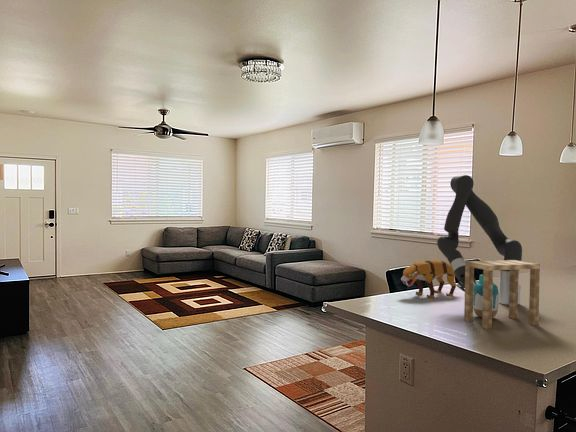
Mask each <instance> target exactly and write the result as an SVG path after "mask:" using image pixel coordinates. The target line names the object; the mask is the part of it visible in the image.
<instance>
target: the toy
mask: <svg viewBox="0 0 576 432" xmlns="http://www.w3.org/2000/svg"><path fill="white" fill-rule="evenodd" d="M402 274H403V275H402V277H401V278H400V280H401V281H402V283H403V284H404V285H406V286H407V287H411V286H413V285H414V284H415V283H416V285H417V287H418V291H415V295H419V296H420V295H423V294H424V293H423V292H424V287H423V283H422V281H425V283H426V284H427V286H428V290H429V292H430V293H429V295H428V294H426V298H428V299H434V298H435V294H441V293H442V290H443V287H444V284H445V280H444V279H443V276H444V275H446V281H447V282H448V284H449V285H450V286H451V288H450V290H449V292H446V293H445V295H446V296H447V297H453V296H454V293H455V290H456V288H457V286H456V285H457V284H456V282H455V278H456V276H455V274H454V272H453V270H452V268H451V265H450V263H449V262H446V261H443V260H438V259H430V260H429V259H428V260H425V261H424V260H423V261H416V262H414V263H413V264H411V265H409V266H407V267H406V268H405V269H403V271H402ZM435 279H436V281H437V282H438V283H439V285H438V288H437V290H436V289H435V287H434V283H433V280H435Z"/></svg>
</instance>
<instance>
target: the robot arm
mask: <svg viewBox="0 0 576 432" xmlns="http://www.w3.org/2000/svg"><path fill="white" fill-rule="evenodd" d="M449 183H450V184H449V185H450V188H451V190H452V191H453V192H454V193H455V196H454V200H453V203H452V205H451V206H450V209H449V211H448V212H447V215H446V219H445V223H444V226H443V230H444V232H446V233H447V234H448V236H445V235H442V236H440V237H438V238H437V241H436V244H437V247H438V249H439V250H440V252H441V253H442V254H443V255H444V257H445V258H446V259H447V262H448V264H450V265H451V268H452V270H453V272H454V274H455V278H456V279H457V281H458V283H457V284H456V288H458V289H460V290H461V291H462V292H464V293H465V261H466V259H464V256H463V255H462V253H461V252H460V250H458V247H459V231H460V230H459V228H460V225H461V223H462V222H461V221H462V217H463V214H464V210H465V207H466V208H467V209H468V210H469V212H470V214H471V215H472V216H473V218H474V219H475V221H476V222H477V223H478V224H479V227H481V229H482V230H483V231H484V233H485V234H486V235H487V236H488V238H489V239H490V241H491V243H492V244H493V246H494V248H495V249H496V251H497V252H498V254H499V255H500V256H503V257H504V258H503V260H518V261H523V260H522V259H523V257H522V256H523V246H522V244H521V243H520V241H518V240H515V239H511V238H510V239H509V237H507V236H506V235H505V233H504V232H503V231H502V229H501V227H500V222H499V219H498V217H497V215H496V213H495V212H494V210H493V209H492V208H491V206H490V205H489V204H487V202H485V201H484V200H483V199H481V198H480V197H479V196H478V195H477V194H476V193H475V192H474V190H473V188H474V183H475V182H474V180H473V177H472V176H471V175H468V174H459V175H455V176H453V177H452V178H451V180H450V182H449ZM498 277H499V278H498V292H499V304H502V305H508V306H509V283H510V270H498ZM478 282H479V281H477V279H476V278H475V277H474V285H475V284H476V283H478ZM521 288H522V287H521V285H520V275H519V276H518V305H521V290H522V289H521Z"/></svg>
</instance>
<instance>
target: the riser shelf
mask: <svg viewBox="0 0 576 432" xmlns="http://www.w3.org/2000/svg"><path fill="white" fill-rule="evenodd" d="M540 267H541V264H540V263H536V262H529V261H523V260H522V261H518V260H504V259H503V260H501V259H500V260H496V259H495V260H465V288H464V289H465V292H464V306H463V307H464V308H463V309H464V311H463V312H464V313H463V314H464V315H463V319H464V321H465V322H467V323H469V322H474V310H473V291H474V278H475V269H479V270H483V273H482V274H483V318H482V317H481V318H482V321H481V322H482V323H481V324H482V329H486V330H491V329H493V327H492V326H493V325H492V324H493V317H492V292H493V283H494V279H493V278H494V277H493V276H494V271H499V270H510V283H509V305H508V318H510V319H515V320H516V319H518V312H519V310H518V309H519V304H518V276H519V277H520V270H529V297H528V299H529V300H528V302H529V305H528V325H531V326H539V322H540V321H539V319H540V317H539V315H540V312H539V311H540V310H539V309H540V279H541V278H540V276H541V275H540V273H541V272H540V271H541V270H540V269H541V268H540Z"/></svg>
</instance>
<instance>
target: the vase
mask: <svg viewBox="0 0 576 432" xmlns="http://www.w3.org/2000/svg"><path fill="white" fill-rule="evenodd" d="M477 282H478V283H476V284H475V285H474V291H473V313H474V314H475V316H478V317H480V318H483V273H481V274H479V277H478V281H477ZM499 304H500V303H499V286H498V285H496V284H495V283H494V282H493V292H492V318H495V316H496V315H498V311H499Z"/></svg>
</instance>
